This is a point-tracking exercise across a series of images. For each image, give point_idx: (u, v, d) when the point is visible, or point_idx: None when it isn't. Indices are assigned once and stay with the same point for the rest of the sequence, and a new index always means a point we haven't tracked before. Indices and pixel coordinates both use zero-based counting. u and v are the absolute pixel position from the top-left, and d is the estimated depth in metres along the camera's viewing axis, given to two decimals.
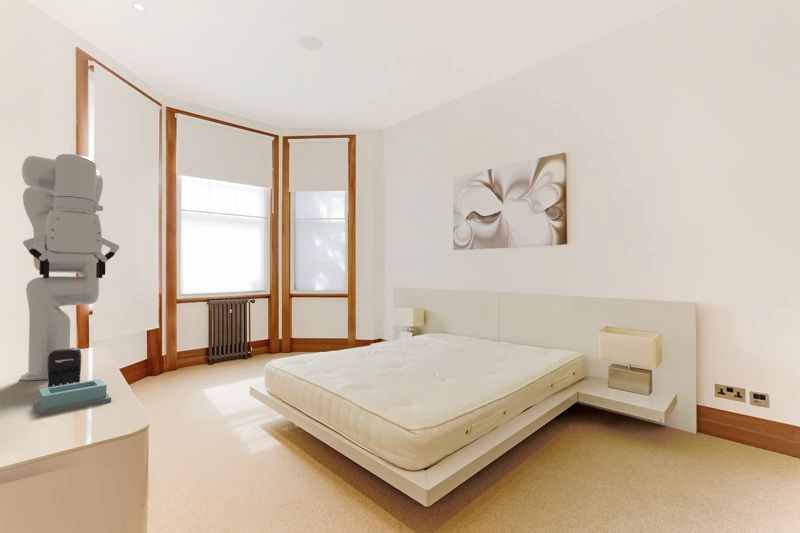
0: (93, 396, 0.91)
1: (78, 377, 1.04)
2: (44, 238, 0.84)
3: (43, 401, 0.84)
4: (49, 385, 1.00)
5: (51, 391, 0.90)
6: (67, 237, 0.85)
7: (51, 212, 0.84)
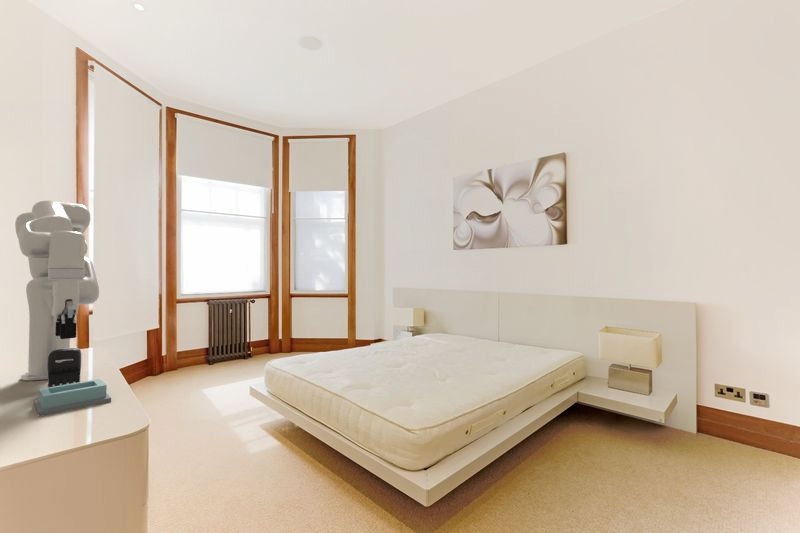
0: (93, 396, 0.91)
1: (78, 377, 1.04)
2: None
3: (43, 401, 0.84)
4: (49, 385, 1.00)
5: (51, 391, 0.90)
6: None
7: (74, 282, 1.00)
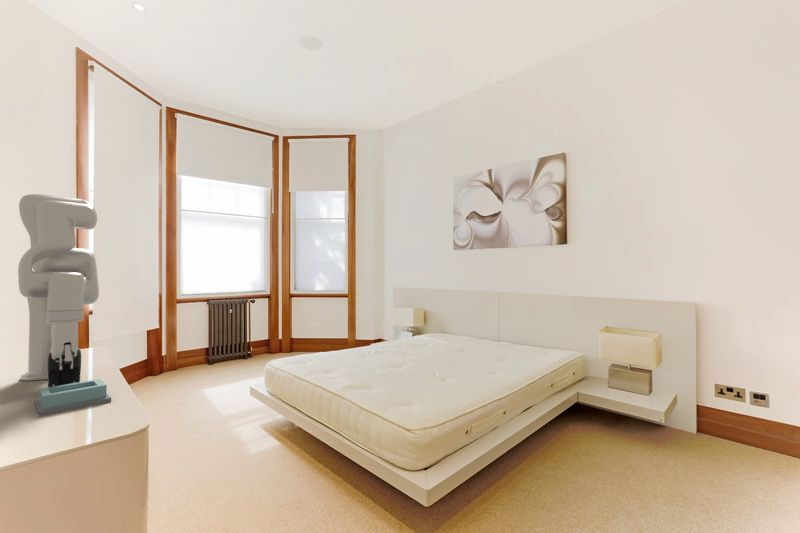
0: (93, 396, 0.91)
1: (78, 377, 1.04)
2: None
3: (43, 401, 0.84)
4: (49, 385, 1.00)
5: (51, 391, 0.90)
6: None
7: (73, 324, 1.00)
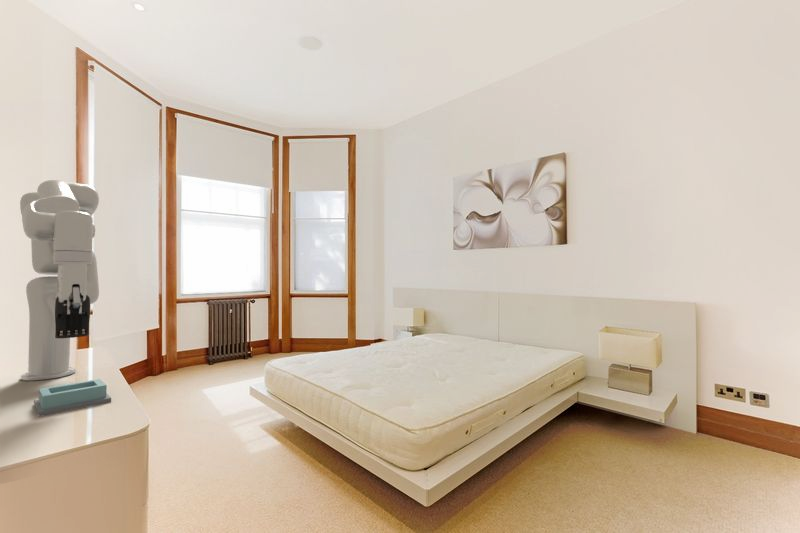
0: (93, 396, 0.91)
1: (87, 325, 0.96)
2: None
3: (43, 401, 0.84)
4: (56, 331, 0.92)
5: (51, 391, 0.90)
6: None
7: (82, 265, 0.93)
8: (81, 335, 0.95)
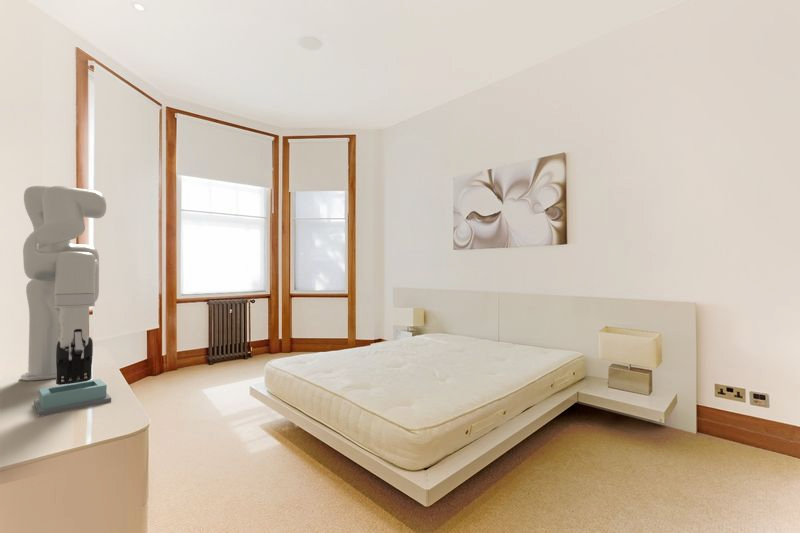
0: (93, 396, 0.91)
1: (89, 368, 0.93)
2: None
3: (43, 401, 0.84)
4: (58, 377, 0.89)
5: (51, 391, 0.90)
6: None
7: (84, 309, 0.90)
8: (83, 380, 0.91)
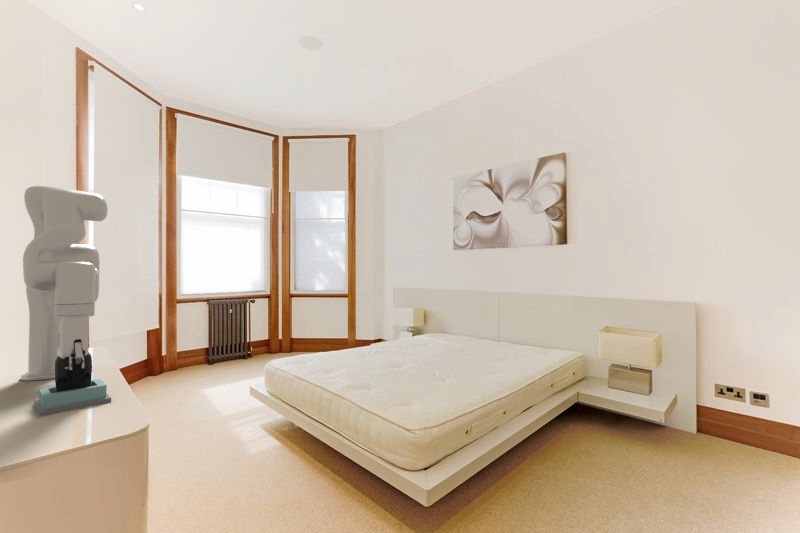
0: (93, 396, 0.91)
1: (89, 383, 0.93)
2: None
3: (43, 401, 0.84)
4: None
5: (51, 391, 0.90)
6: None
7: (84, 319, 0.90)
8: None
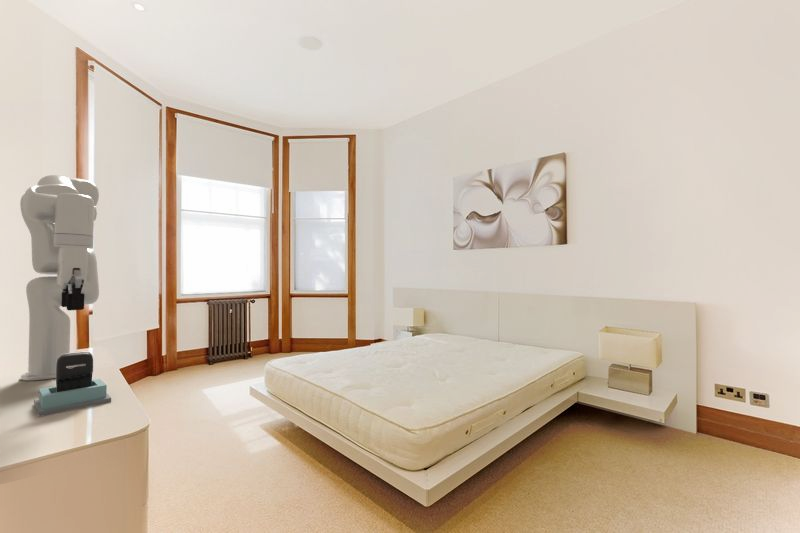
0: (93, 396, 0.91)
1: (90, 384, 0.93)
2: None
3: (43, 401, 0.84)
4: None
5: (51, 391, 0.90)
6: None
7: (83, 249, 0.93)
8: None
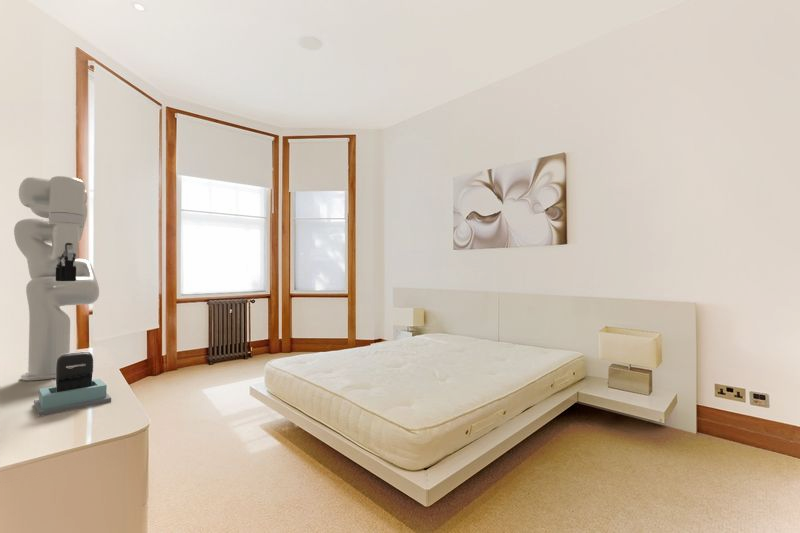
0: (93, 396, 0.91)
1: (90, 384, 0.93)
2: None
3: (43, 401, 0.84)
4: None
5: (51, 391, 0.90)
6: None
7: (74, 226, 1.02)
8: None
